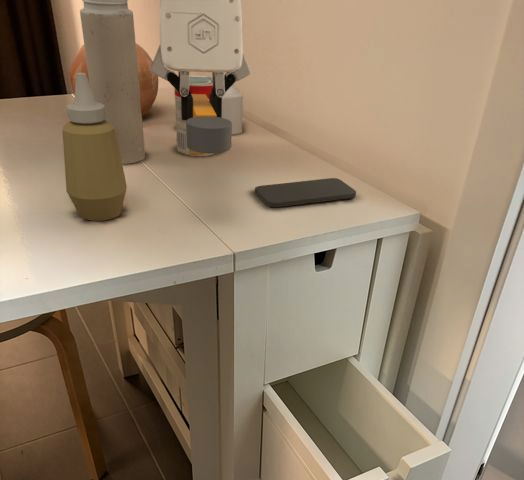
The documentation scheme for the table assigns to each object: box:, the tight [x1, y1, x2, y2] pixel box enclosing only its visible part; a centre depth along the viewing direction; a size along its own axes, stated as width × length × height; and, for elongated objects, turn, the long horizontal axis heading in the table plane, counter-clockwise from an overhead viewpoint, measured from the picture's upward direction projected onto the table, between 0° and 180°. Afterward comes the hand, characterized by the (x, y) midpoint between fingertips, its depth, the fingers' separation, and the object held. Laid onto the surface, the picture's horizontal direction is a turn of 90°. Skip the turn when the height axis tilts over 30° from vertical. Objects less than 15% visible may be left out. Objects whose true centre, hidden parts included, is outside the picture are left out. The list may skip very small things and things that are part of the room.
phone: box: [254, 177, 357, 208], centre depth 87 cm, size 7×1×15 cm
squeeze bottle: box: [62, 73, 128, 221], centre depth 73 cm, size 8×8×18 cm
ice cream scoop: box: [186, 94, 233, 155], centre depth 73 cm, size 17×6×3 cm, turn 12°
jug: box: [68, 42, 159, 120], centre depth 115 cm, size 18×18×20 cm
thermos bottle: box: [79, 0, 146, 165], centre depth 90 cm, size 8×8×28 cm
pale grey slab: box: [222, 84, 244, 136], centre depth 113 cm, size 10×13×9 cm
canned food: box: [173, 74, 217, 157], centre depth 100 cm, size 8×8×12 cm
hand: (201, 124), depth 76 cm, fingers closed on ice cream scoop, 2 cm apart
